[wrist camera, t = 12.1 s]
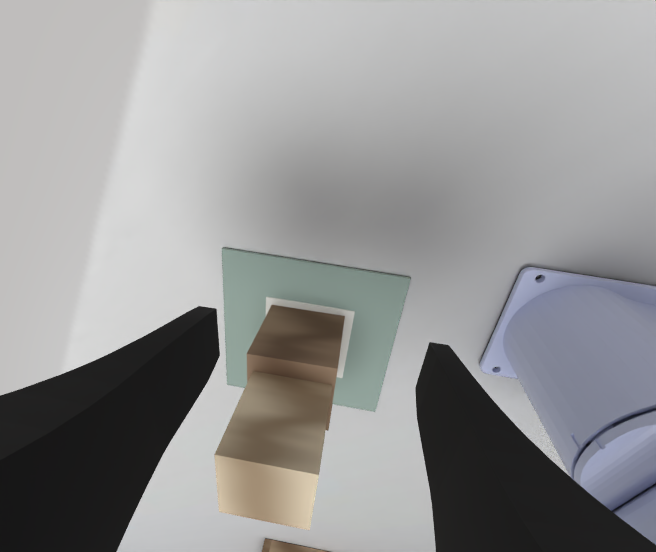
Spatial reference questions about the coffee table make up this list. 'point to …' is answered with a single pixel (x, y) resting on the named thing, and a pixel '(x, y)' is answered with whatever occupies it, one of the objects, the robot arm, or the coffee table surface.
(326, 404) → the maple block
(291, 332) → the walnut block
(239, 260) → the build mat
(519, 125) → the coffee table surface
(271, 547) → the box
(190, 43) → the coffee table surface
